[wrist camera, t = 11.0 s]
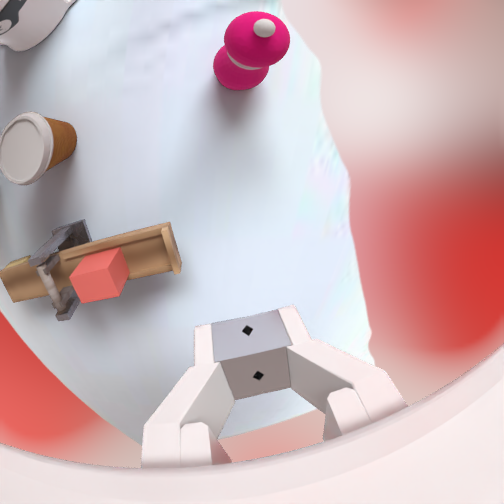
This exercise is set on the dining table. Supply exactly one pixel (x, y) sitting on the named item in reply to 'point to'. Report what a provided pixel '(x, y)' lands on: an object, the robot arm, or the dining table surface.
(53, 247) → the stand
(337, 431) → the robot arm
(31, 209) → the dining table surface
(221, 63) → the pepper mill
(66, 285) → the beam
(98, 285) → the rider
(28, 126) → the disposable coffee cup
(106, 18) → the dining table surface
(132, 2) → the dining table surface
